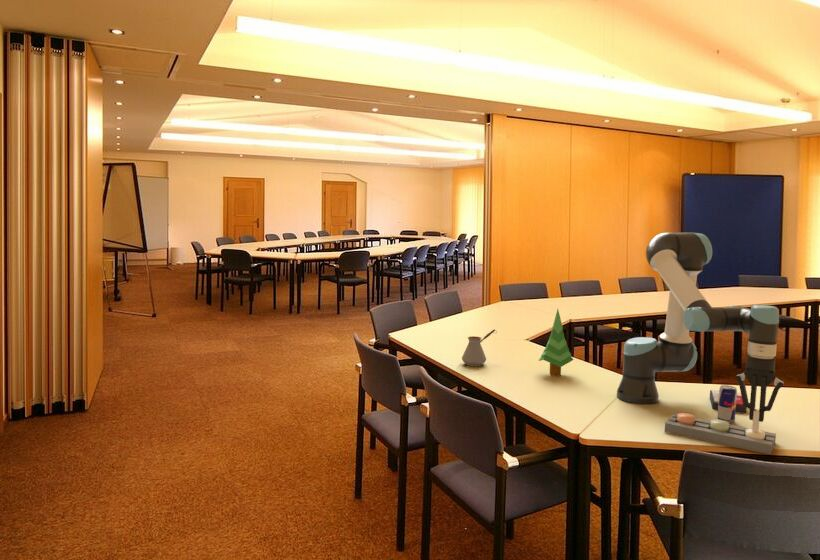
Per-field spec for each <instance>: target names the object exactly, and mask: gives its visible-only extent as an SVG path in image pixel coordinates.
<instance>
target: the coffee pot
mask: <svg viewBox="0 0 820 560" xmlns="http://www.w3.org/2000/svg"><path fill="white" fill-rule="evenodd" d="M497 332H498V331H497V330H496V329H492V330H491V331H490V332H489V333H487V334H486V335H485V336H484V337H483V338H482V337H480V336H468V337H467V339H468V343H467V346H466V348H465V350H464V352H463V354H462V357H461V360H462V362H463V363H465V365H466V366H468V367H482V366H483V364H485V363H486V361H487V356H486V355H485V352H484V349H483V347H482V344H481V343H482V342H483V341H484V340H486V339H488V337H490V336H491V335H492V334H494V333H495V334H497ZM481 365H482V366H481Z"/></svg>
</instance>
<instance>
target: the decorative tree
mask: <svg viewBox="0 0 820 560" xmlns="http://www.w3.org/2000/svg"><path fill="white" fill-rule="evenodd" d="M553 320H554V321H553V324H552V328H551V331H550V334H549V335H550V336H549V338H548V341H547V344H546V346H545V348H544V349H543V351H542V353H541V355H540V357H539V359H538V361H539V362H540V361H545V362H548V363H549V375H550V376H551V377H560V376H562V367H564V366H566V365H567V364H569V363H571V362H572V361H574V358H573V357H572V353H571V352H570V348H569V347H568V343H567V340H566V339H565V332H564V331H563V329H564V327H563V324H562V320H561V315H560V312H559V308H557V310H556V312H555V317H554V319H553Z"/></svg>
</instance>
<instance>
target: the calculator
mask: <svg viewBox="0 0 820 560" xmlns="http://www.w3.org/2000/svg"><path fill="white" fill-rule="evenodd" d="M709 401H710V404H711V409H712V410H714V411H715V410H716V411H718V403H719V389H718V390H717V389H711V390H710V391H709ZM747 409H748V408H747V407H744V406H743V401H742V396H741V392H737V398H736V411H735V413H738V412H740V414H747Z"/></svg>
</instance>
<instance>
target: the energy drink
mask: <svg viewBox="0 0 820 560" xmlns="http://www.w3.org/2000/svg"><path fill="white" fill-rule="evenodd" d="M718 390H719V403H718V410H717V420H723V421H726V422H728V423H729V424H734V423H735V422H736V421H735V420H736V412H735V411H736V398H737V393H738V391H737V390H738V389H737V387H735V386H733V385H728V384H727V385H726V384H724V385H720V386H719V389H718Z"/></svg>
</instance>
